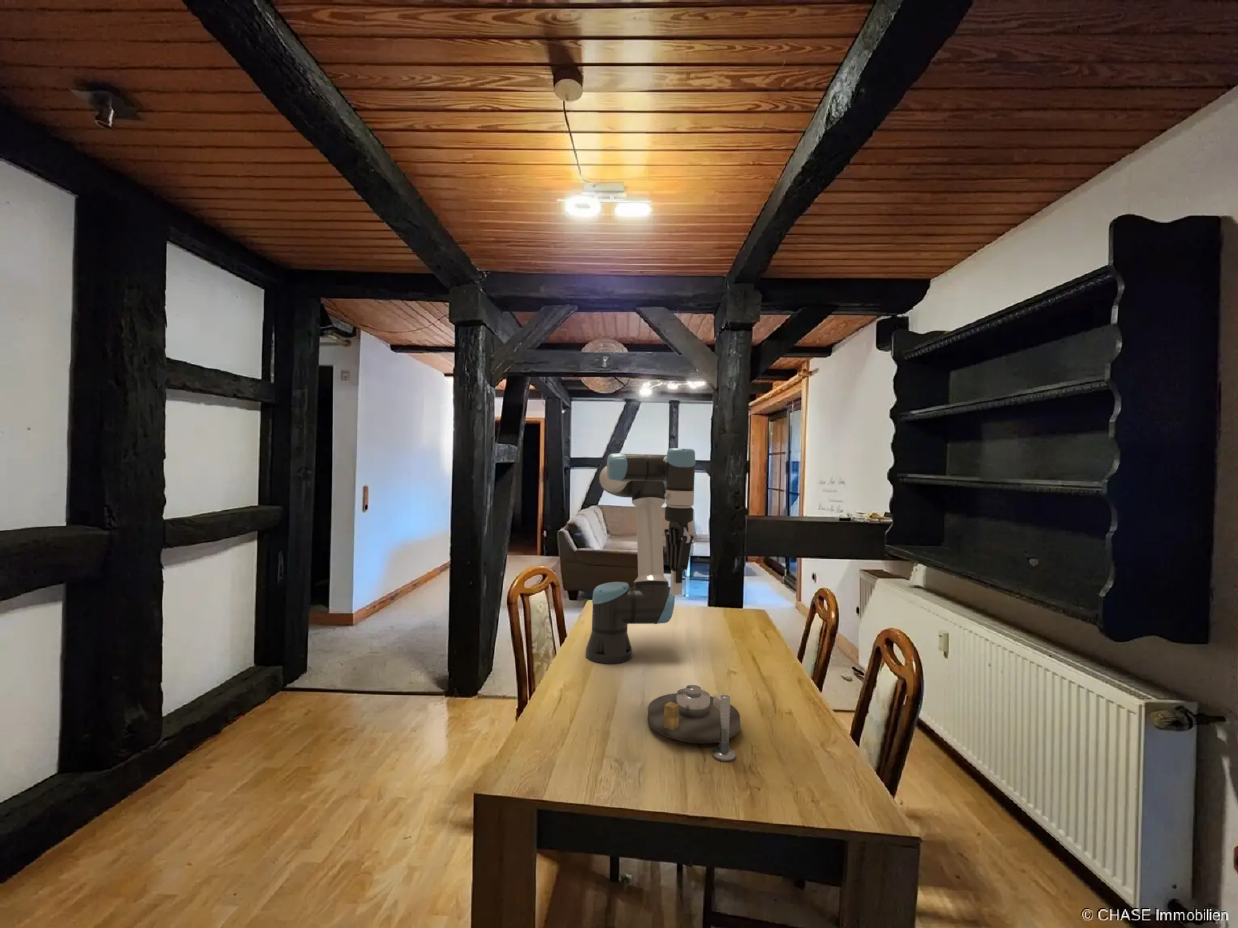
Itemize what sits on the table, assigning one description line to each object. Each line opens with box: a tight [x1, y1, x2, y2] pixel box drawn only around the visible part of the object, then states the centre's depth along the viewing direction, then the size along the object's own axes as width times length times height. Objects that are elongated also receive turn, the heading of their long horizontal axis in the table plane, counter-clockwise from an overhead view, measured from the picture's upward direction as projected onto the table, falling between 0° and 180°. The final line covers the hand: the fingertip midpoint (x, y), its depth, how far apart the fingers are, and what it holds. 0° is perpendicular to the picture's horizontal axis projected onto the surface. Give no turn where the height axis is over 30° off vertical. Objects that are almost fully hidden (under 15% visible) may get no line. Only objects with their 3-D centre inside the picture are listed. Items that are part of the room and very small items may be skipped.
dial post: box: [711, 693, 736, 763], centre depth 120 cm, size 6×5×13 cm
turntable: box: [646, 692, 741, 744], centre depth 133 cm, size 22×22×7 cm
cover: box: [676, 684, 711, 719], centre depth 134 cm, size 8×8×6 cm
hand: (676, 594), depth 148 cm, fingers closed
